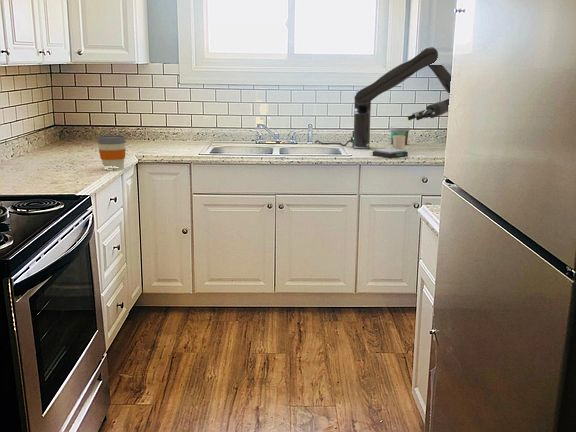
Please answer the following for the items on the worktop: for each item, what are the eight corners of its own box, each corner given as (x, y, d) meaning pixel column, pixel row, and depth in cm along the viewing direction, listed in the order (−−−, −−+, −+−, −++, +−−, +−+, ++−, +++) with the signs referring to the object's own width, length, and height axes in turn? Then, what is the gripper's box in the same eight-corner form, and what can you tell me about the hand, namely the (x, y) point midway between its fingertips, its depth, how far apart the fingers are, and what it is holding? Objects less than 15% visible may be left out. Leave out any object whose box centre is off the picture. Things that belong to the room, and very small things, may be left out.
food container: (386, 144, 370) (386, 127, 368) (389, 143, 376) (390, 126, 373) (406, 145, 365) (406, 128, 362) (409, 144, 370) (410, 127, 368)
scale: (372, 155, 326) (372, 149, 325) (389, 153, 334) (389, 147, 333) (390, 158, 316) (391, 152, 315) (408, 156, 323) (408, 150, 323)
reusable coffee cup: (104, 166, 295) (102, 135, 291) (130, 166, 294) (128, 135, 291) (95, 171, 283) (93, 138, 279) (123, 171, 282) (120, 138, 278)
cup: (390, 152, 338) (390, 135, 336) (398, 151, 341) (398, 134, 339) (398, 153, 333) (399, 136, 331) (407, 152, 337) (407, 135, 334)
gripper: (428, 103, 346) (403, 112, 342) (442, 102, 333) (417, 111, 329) (431, 115, 348) (407, 125, 344) (446, 115, 335) (421, 125, 330)
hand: (412, 118), depth 336 cm, fingers open, 8 cm apart
